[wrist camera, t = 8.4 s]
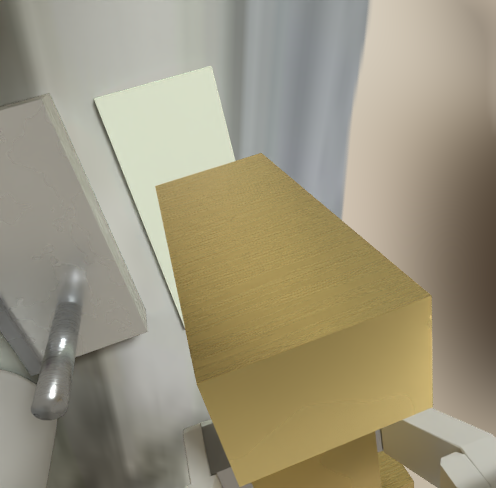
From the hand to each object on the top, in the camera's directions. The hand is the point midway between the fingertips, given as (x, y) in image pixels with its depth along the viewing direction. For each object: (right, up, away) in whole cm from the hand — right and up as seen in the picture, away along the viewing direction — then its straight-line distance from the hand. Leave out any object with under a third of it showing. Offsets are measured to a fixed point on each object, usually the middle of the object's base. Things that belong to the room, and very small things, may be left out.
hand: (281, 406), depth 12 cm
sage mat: (-5, +7, +21) cm, 22 cm away
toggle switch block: (-16, +5, +18) cm, 25 cm away
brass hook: (0, 0, +2) cm, 2 cm away
